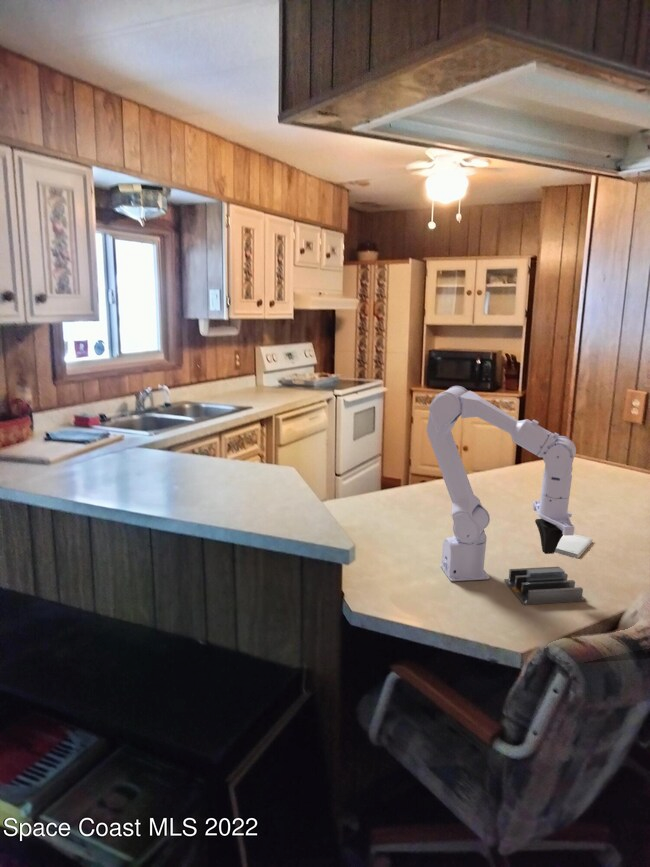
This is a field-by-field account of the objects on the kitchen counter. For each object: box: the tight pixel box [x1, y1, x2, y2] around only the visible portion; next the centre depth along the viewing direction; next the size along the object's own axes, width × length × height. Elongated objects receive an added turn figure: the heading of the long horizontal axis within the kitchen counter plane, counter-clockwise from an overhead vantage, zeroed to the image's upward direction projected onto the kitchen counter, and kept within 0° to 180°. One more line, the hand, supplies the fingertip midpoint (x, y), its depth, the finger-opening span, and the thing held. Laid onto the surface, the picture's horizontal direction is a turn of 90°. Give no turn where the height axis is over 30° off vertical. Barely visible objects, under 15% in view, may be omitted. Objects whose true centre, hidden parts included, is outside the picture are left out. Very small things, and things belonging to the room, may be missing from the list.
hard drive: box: [554, 533, 593, 559], centre depth 159 cm, size 2×8×12 cm
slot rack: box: [503, 566, 587, 606], centre depth 135 cm, size 14×10×3 cm
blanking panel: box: [526, 567, 566, 583], centre depth 135 cm, size 8×2×4 cm, turn 97°
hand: (548, 552), depth 133 cm, fingers closed
